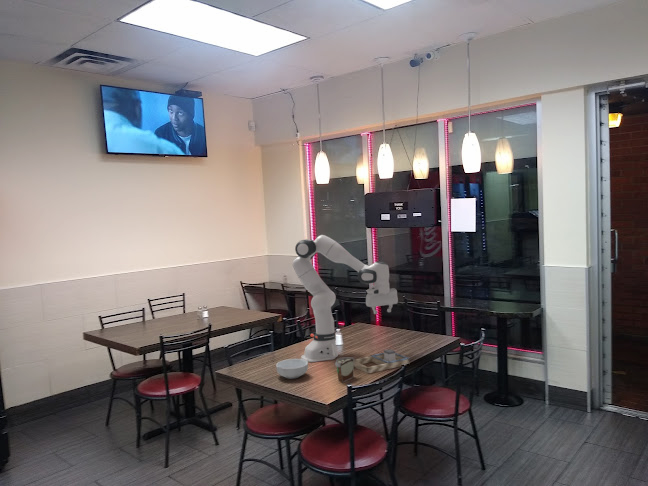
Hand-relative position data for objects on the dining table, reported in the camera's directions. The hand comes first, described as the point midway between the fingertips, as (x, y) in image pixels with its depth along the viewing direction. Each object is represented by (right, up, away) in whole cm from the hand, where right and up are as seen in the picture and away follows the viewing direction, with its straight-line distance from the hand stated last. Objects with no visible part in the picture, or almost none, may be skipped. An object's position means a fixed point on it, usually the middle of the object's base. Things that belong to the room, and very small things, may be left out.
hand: (382, 312), depth 282 cm
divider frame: (-3, -27, -15) cm, 31 cm away
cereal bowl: (-51, -30, -27) cm, 65 cm away
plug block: (+3, -26, -12) cm, 29 cm away
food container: (-24, -29, -35) cm, 51 cm away
